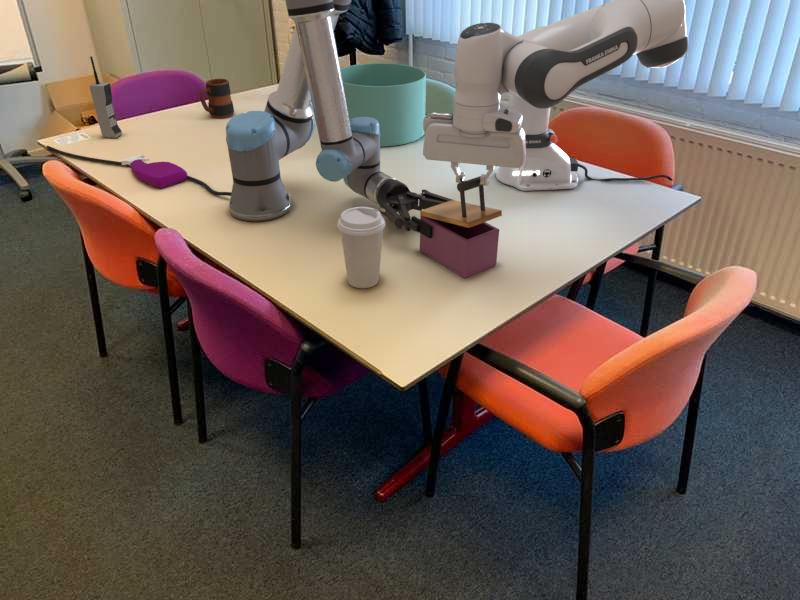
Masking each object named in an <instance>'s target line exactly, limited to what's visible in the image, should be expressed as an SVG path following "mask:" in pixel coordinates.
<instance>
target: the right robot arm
mask: <svg viewBox="0 0 800 600" xmlns="http://www.w3.org/2000/svg"><path fill="white" fill-rule="evenodd" d="M686 10H687V9H686V4H685V0H612V1H609V2H606V3H603V4H600V5H597V6H595V7H592V8H590V9H587V10H584V11H582V12H579V13H576V14H573V15H570V16H568V17H565V18H563V19H560V20H558V21H555V22H552V23H550V24H546V25H543V26H538V27H536V28H534V29H531V30H529V31H527V32H525V33H522V34H520V35H518V36H515V35H513V34H511V33H509V32H508V31H506V29H504V28H503V27H502V26H501V24H498V23H496V22H495V23H494V22H480V23H474V24H472V25H470V26H467V27H466V28H465V29H463V30H462V31H461V32H460V34H459V36H458V39H457V43H456V49H455V56H454V71H453V72H454V73H453V74H454V75H453V76H454V81H455V91H454V95H453V98H452V99H453V101H452V113H451V112H450V113H449V112H443V113H442V112H436V111H433V112H430V113H429V114H426V115H425V118H424V120H423V130H424V132H425V133H424V138H423V139H424V140H423V148H422V155H423V157H424V158H425V160H428V161H437V162H438V161H439V162H447V163H448V162H449V163H450V167H451V169H452V172H453V174H454V175H455V183H457V184H458V183H461V182H464V181H465V179H466V178H465V175H466V172H463V171H461V169H460V166H459V165H460V164H470V165H477V166H478V165H480V166H486V168H485V169H486V173H485V174H484V173H481V174H480V176H481V177H480V185H483V186H485V187H488V185H489V177H490V176H491V175H492V174H493V172H494V170H495V168H496V167H498V169H497V172H496V175H495V177H496V180H498V181H499V182H501V183H502V184H504V185H507V186H511V187H515V189H517V190H519V191H522V192H529V191H530V192H531V191H550V190H551V191H552V190H572V189H576V188H577V186H578V184H579V178H578V175H577V172H578V169H579V168H581V169H583V170H584V177H585V178H586V179H587V180H588V181H598V182H599V181H600V182H611V181H612V182H613V181H617V182H629V181H633V182H634V181H648V180H653V179H658V178H664V179H667V180H669V181H671V182H673V181H674V179H673V178H672V177H671V176H669V175H667V174H656V175H652V176H645V177H609V178H599V179H598V178H594V177H593V178H592V177H590V176H589V175H588V173H589V172H588V168H587V167H586V166H585V165H583V164H580V163H579V162H578V159H577V158H576V157H569V155H568V154H567V153H566V152H565V151H564V150H563V149H561V148H560V147H559V146H558V145H557V143H558V141H559V138H558V135H557V134H555V131H554V130H553V129H552V127H551V128H549V122H550V114H551V109H552V107H555V106H557V105H559V104H560V103H562V101H564V100H565V99H567V97H569V96H570V95H571V94H572V93H573V92H574V91H575V90H577V89H578V88H580V87H581V86H583V85H584V84H586V83H589V82H590V81H592V80H594V79H596V78H598V77H600V76H603V75H604V74H606V73H608V72H610V71H612V70H614V69H616V68H618V67H619V66H621V65H623V64H624V63H626V62H627V61H629V59H631V58H632V57H633V56H635V55H636V57H637V59H638V61H639V63H640V64H641V65H642V66H643V67H645V68H647V69H649V68H652V69H661V68H666V67H669V66H671V65H672V64H675V63H676V62H677V61H679V60H680V59H682V58H683V57H685V55H686V54H687V52H688V49H689V35H687V21H686V14H687V13H686ZM506 93H510V95H509V98H508V103H507V104H508V106H505V105H503V104H501V96H502V95H503V94H506Z"/></svg>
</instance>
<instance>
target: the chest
mask: <svg viewBox="0 0 800 600" xmlns="http://www.w3.org/2000/svg"><path fill="white" fill-rule="evenodd" d="M419 219H420V220H422V221H424V222H426V223H427V224H429V225H431V226H433V231H432V238H430V239H429V238H428V237H426V236H424V235H423V234H421V233H419V251H420V252H421V253H423V254H424V255H426V256H428V257H429V258H430V259H432V260H434V261H436V262H437V263H439V264H440V265H442V266H444V267H445V268H447V269H448V270H450V271H452V272H453V273H455V274H457V275H458V276H460V277H461V278H463V279H466V278H469V277H471V276H473V275H476V274H479V273H481V272H483V271H485V270H488V269H490V268H493V267H495V266H497V258H498V249H499V238H500V229H499V228H498V227H496V226H494V225H492V224H490V223H488V222H487V221H486V222H483V223H481V224H478V225H475V226H473V227H470V228H468V227H464V226H460V225H456V224H452V223H448V222H444V221H440V220H436V219H432V218H428V217H424V216H421V215H420V218H419Z"/></svg>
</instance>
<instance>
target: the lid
mask: <svg viewBox="0 0 800 600" xmlns="http://www.w3.org/2000/svg"><path fill="white" fill-rule="evenodd" d="M480 177H481V175H480V176H477V177H474V178H471V179H466V180H464V182H461V183H457V184H456V189H457V191H458V192H459V196H460V197H459V198H460V201H458V200H455V199H452V200H451V201H448V202H445V203H442V204H439V205H436V206H433V207H430V208H427V209H422V210H421V211H419V213H420V216H424V217H428V218H432V219H436V220H440V221H444V222H448V223H452V224H456V225H460V226H464V227H468V228H470V227H473V226H475V225H478V224H481V223H483V222H486V223H487V222H489V221H492V220H494V219H497V218H499V217H503V210H501V209H496V208H492V207H489V206H488V207H487V206H486V202H485V200H486V199H485V189H484V185H480ZM475 188H478V192H479V193H478V194H479V205H477V204H472V203H468V202H466V193H465V192H467V191H470V190H472V189H475Z"/></svg>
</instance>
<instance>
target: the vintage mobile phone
mask: <svg viewBox="0 0 800 600" xmlns="http://www.w3.org/2000/svg"><path fill="white" fill-rule="evenodd" d="M89 59H90V62H91V66H92V70H93V76H94V79H95V82H94V83H92V84H90V85H89V91H90V94H91V98H92V102H93V106H94V109H95V114H96V118H97V122H98V125H99V129H100V133H101V136H102V138H108V139H109V138H110V139H117V138H119V137H120V136H122V135H123V131H122V129H121V128H120V126H119V125H118V120H117V117H116V113H115V108H114V104H113V91H112V87H111V83H110V82H101V81H100V80H99V77H98V72H97V70H96V66H95V63H94V59H93V56H91V55H90V57H89Z"/></svg>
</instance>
